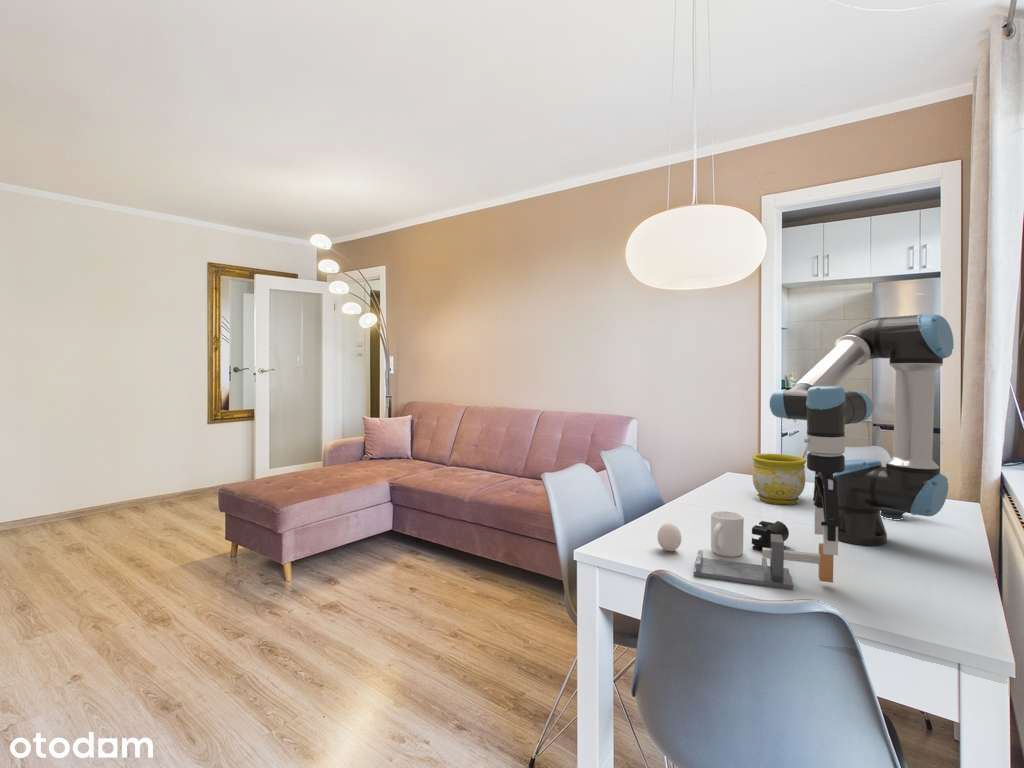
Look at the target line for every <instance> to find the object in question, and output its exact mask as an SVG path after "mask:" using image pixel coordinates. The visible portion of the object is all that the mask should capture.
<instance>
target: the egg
mask: <svg viewBox="0 0 1024 768" xmlns="http://www.w3.org/2000/svg"><path fill="white" fill-rule="evenodd" d="M657 542H658V544H659V546H660V547H661V548H662V549H663V550H665V551H667V552H674V551H676V550H677V549H678V548H679V547H680V546H681V544H682V534H681V531H680V529H679V527H678V526H677V525H676V524H675V523H673V522H671V521H670V522H668V521H667V522H665V523H663V524H661V526H660V528H659V530H658V531H657Z"/></svg>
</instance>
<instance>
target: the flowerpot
mask: <svg viewBox="0 0 1024 768" xmlns="http://www.w3.org/2000/svg"><path fill="white" fill-rule="evenodd" d="M751 458H752V460H753V463H752V464H753V469H752V482H753V483H752V484H753V487H754V489H755V490H756V491H757V493H758V494H757V497H758V498H759V500H760V501H762V502H764V503H768V504H772V503H773V505H780V504H791V505H795V504H794V503H796V504H797V502H799V501H800V496H801V495H802V494H803V491H804V490H805V487H806V486H805V485H806V472H805V468H806V466H805V464H807V459H806V458H804V457H802V456H801V457H800V456H797V455H793V454H792V455H791V454H782V453H758V454H754V455H752V457H751Z"/></svg>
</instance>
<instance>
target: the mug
mask: <svg viewBox="0 0 1024 768" xmlns="http://www.w3.org/2000/svg"><path fill="white" fill-rule="evenodd" d="M744 519H745V518H744V515H743V514H741V513H737V512H736V511H735V512H734V511H728V510H718V511H712V512H711V513H710V549H711V552H713V553H714V554H715V555H717V556H718V555H719V556H722V557H726V558H736V557H741V556H742V555H743V553H744V525H745V524H744V522H745V521H744Z"/></svg>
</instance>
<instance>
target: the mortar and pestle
mask: <svg viewBox="0 0 1024 768" xmlns="http://www.w3.org/2000/svg"><path fill="white" fill-rule="evenodd" d="M904 514H906V512H901V511H896V510H891V509H886V508H881V507H880V515H881V516H883V517H886V518H892V519H901V518H903V519H904Z"/></svg>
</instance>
